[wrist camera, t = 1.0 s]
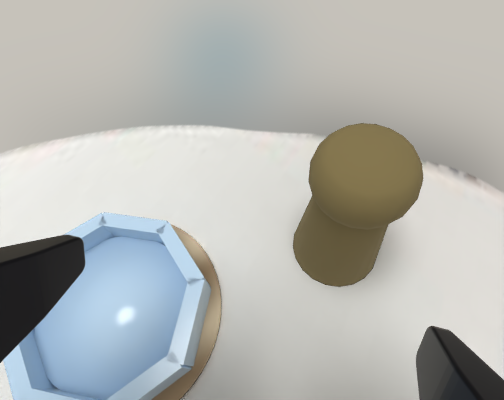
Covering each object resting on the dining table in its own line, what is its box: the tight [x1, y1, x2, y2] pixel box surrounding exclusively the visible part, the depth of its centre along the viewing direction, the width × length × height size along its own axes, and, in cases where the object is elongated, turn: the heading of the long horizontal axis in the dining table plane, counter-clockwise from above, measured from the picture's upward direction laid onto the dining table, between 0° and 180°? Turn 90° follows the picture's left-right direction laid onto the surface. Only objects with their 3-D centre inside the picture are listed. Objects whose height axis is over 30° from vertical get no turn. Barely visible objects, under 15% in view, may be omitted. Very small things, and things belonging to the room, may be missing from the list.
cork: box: [293, 123, 423, 287], centre depth 19 cm, size 6×6×11 cm
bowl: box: [3, 212, 211, 400], centre depth 21 cm, size 12×12×2 cm
